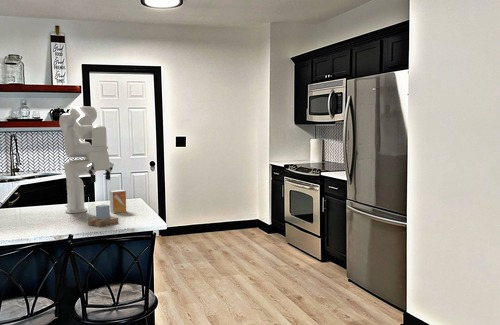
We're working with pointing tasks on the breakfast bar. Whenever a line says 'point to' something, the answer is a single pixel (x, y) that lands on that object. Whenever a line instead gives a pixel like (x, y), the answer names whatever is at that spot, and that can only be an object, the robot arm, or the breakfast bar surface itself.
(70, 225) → the breakfast bar surface
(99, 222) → the walnut slab
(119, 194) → the small box
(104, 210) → the blue block
